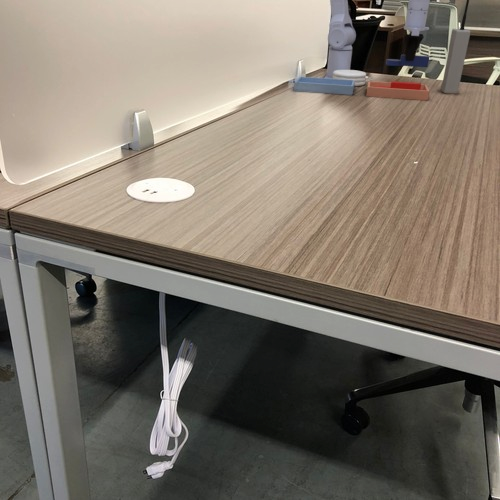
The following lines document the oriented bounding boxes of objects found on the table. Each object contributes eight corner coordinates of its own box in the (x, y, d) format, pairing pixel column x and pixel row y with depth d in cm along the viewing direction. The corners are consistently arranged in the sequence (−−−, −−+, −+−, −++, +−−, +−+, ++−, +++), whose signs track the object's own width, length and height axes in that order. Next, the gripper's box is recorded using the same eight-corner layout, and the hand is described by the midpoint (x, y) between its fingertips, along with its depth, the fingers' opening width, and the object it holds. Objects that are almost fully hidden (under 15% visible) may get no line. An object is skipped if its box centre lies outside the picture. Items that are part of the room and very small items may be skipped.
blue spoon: (385, 65, 151) (387, 54, 150) (385, 63, 155) (387, 53, 154) (427, 68, 149) (429, 57, 148) (426, 66, 153) (428, 55, 152)
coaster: (325, 81, 157) (326, 70, 155) (352, 80, 161) (353, 68, 159) (344, 87, 149) (345, 75, 147) (371, 85, 153) (373, 73, 151)
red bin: (367, 89, 147) (368, 81, 146) (425, 93, 144) (426, 84, 143) (366, 96, 138) (367, 86, 137) (427, 100, 135) (429, 91, 134)
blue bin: (299, 84, 151) (299, 76, 149) (354, 88, 147) (355, 80, 146) (293, 90, 142) (294, 82, 141) (352, 95, 139) (353, 85, 138)
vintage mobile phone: (452, 90, 149) (472, -4, 137) (457, 94, 144) (478, -4, 133) (439, 90, 149) (458, -5, 137) (444, 93, 145) (463, -5, 133)
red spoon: (374, 93, 140) (375, 81, 138) (374, 90, 144) (375, 79, 142) (419, 96, 138) (421, 84, 136) (418, 93, 141) (420, 82, 140)
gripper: (434, 11, 138) (424, 64, 144) (430, 9, 150) (421, 58, 157) (407, 10, 139) (399, 62, 146) (405, 8, 152) (398, 56, 158)
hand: (409, 60), depth 151 cm, fingers closed on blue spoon
